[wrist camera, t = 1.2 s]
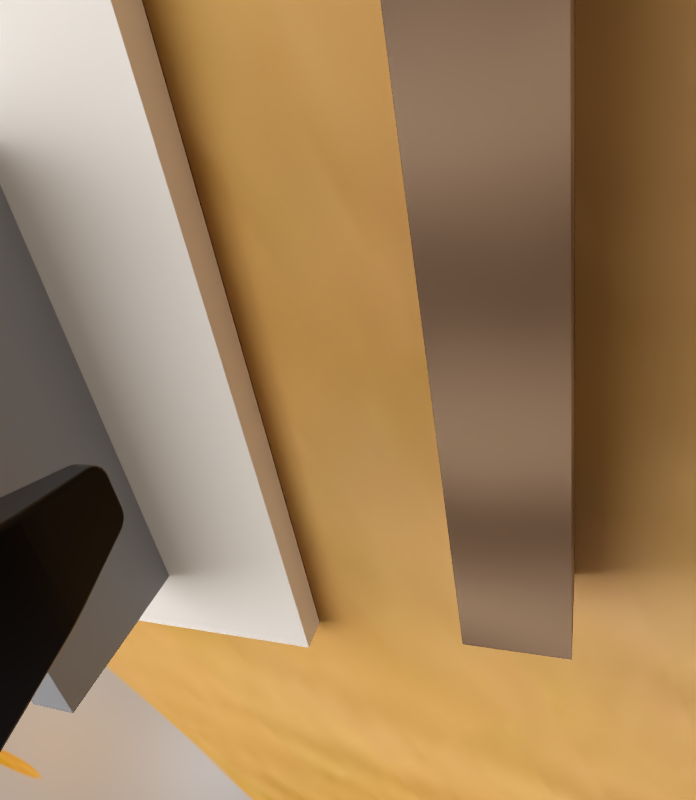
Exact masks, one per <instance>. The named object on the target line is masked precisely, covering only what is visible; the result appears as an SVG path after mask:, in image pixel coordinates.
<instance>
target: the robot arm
mask: <svg viewBox="0 0 696 800" xmlns="http://www.w3.org/2000/svg"><path fill="white" fill-rule="evenodd" d="M123 523H124V511H123V508H122V506H121V503H120V501H119V499H118V497H117V494H116V492H115V490H114V488H113V486H112V483H111V481H110V479H109V477H108V474H107V473H106V471H105V470H104V469H103V468H102V467H100V466H98V465H88V464H73V465H70V466H67V467H65V468H63V469H61V470H58V471H56V472H54V473H52V474H50V475H48V476H46V477H43V478H41V479H39V480H37V481H35V482H33V483H30V484H28V485H26V486H24V487H22V488H20V489H17V490H15V491H13V492H11V493H9V494H7V495H5V496H2V497H0V752H1V750H2V748H3V747H4V745H5V743H6V742H7V740H8V738H9V737H10V735H11V733H12V731H13V730H14V728H15V726H16V725H17V723H18V721H19V719H20V718H21V716H22V715H23V713H24V711H25V710H26V708H27V706H28V705H29V703H30V701H31V699H32V698H33V696H34V694H35V693H36V691H37V689H38V688H39V686H40V684H41V683H42V681H43V679H44V678H45V676H46V674H47V673H48V671H49V669H50V667H51V666H52V664H53V662H54V661H55V659H56V657H57V656H58V654H59V652H60V651H61V649H62V647H63V646H64V644H65V642H66V640H67V639H68V637H69V635H70V633H71V632H72V630H73V628H74V626H75V625H76V623H77V621H78V619H79V617H80V615H81V613H82V611H83V609H84V607H85V605H86V603H87V601H88V599H89V596H90V594H91V592H92V590H93V588H94V586H95V584H96V582H97V580H98V578H99V576H100V573H101V571H102V569H103V567H104V565H105V563H106V561H107V559H108V557H109V555H110V553H111V550H112V548H113V546H114V544H115V542H116V540H117V538H118V536H119V534H120V532H121V529H122V527H123Z"/></svg>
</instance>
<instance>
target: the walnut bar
mask: <svg viewBox="0 0 696 800" xmlns="http://www.w3.org/2000/svg"><path fill="white" fill-rule="evenodd" d="M381 8H382V16H383V24H384V32H385V40H386V47H387V55H388V63H389V71H390V79H391V87H392V94H393V102H394V110H395V118H396V126H397V134H398V141H399V149H400V157H401V165H402V173H403V180H404V188H405V196H406V204H407V212H408V220H409V227H410V235H411V243H412V251H413V259H414V267H415V274H416V282H417V290H418V298H419V306H420V314H421V321H422V329H423V337H424V345H425V353H426V360H427V368H428V376H429V384H430V392H431V400H432V407H433V415H434V423H435V431H436V439H437V447H438V454H439V462H440V470H441V478H442V486H443V494H444V501H445V509H446V517H447V525H448V533H449V541H450V548H451V556H452V564H453V572H454V580H455V587H456V595H457V603H458V611H459V619H460V627H461V634H462V642H463V644H465V645H472V646H479V647H486V648H494V649H501V650H508V651H515V652H522V653H529V654H536V655H543V656H550V657H557V658H564V659H571V660H572V634H573V603H574V449H575V0H381Z"/></svg>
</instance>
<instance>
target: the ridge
mask: <svg viewBox="0 0 696 800" xmlns="http://www.w3.org/2000/svg"><path fill="white" fill-rule="evenodd" d="M73 464H88V465H98V466H100V467H102V468H103V469H104V470H105V471H106V473H107V474H108V477H109V479H110V481H111V483H112V486H113V488H114V490H115V492H116V494H117V497H118V499H119V501H120V503H121V506H122V508H123V511H124V523H123V527H122V529H121V532H120V534H119V536H118V538H117V540H116V542H115V544H114V546H113V548H112V550H111V553H110V555H109V557H108V559H107V561H106V563H105V565H104V567H103V569H102V571H101V573H100V576H99V578H98V580H97V582H96V584H95V586H94V588H93V590H92V592H91V594H90V596H89V599H88V601H87V603H86V605H85V607H84V609H83V611H82V613H81V615H80V617H79V619H78V621H77V623H76V625H75V626H74V628H73V630H72V632H71V633H70V635H69V637H68V639H67V640H66V642H65V644H64V646H63V647H62V649H61V651H60V652H59V654H58V656H57V657H56V659H55V661H54V662H53V664H52V666H51V667H50V669H49V671H48V673H47V674H46V676H45V678H44V679H43V681H42V683H41V684H40V686H39V688H38V689H37V691H36V693H35V694H34V696H33V698H32V699H31V701H32V702H33V703H34V704H36V705H40V706H44V707H49V708H53V709H57V710H62V711H66V712H71V713H73V712H74V711H75V710H76V708H77V707H78V705H79V704H80V703H81V701H82V700H83V698H84V697H85V695H86V694H87V693H88V691H89V690H90V688H91V687H92V685H93V684H94V682H95V681H96V680H97V678H98V677H99V675H100V674H101V673H102V671H103V670H104V668H105V667H106V666H107V664H108V663H109V661H110V660H111V658H112V657H113V656H114V654H115V653H116V651H117V650H118V649H119V647H120V646H121V644H122V643H123V641H124V640H125V639H126V637H127V636H128V634H129V633H130V631H131V630H132V629H133V627H134V626H135V624H136V623H137V622H138V620H139V621H146V622H152V623H158V624H164V625H171V626H177V627H183V628H190V629H196V630H202V631H208V632H215V633H221V634H227V635H234V636H240V637H246V638H252V639H259V640H265V641H271V642H278V643H284V644H290V645H297V646H303V647H309V646H310V644H311V641H312V639H313V636H314V634H315V632H316V629H317V627H318V625H319V619H318V615H317V612H316V608H315V605H314V601H313V598H312V594H311V591H310V587H309V584H308V580H307V577H306V573H305V570H304V566H303V563H302V559H301V556H300V552H299V549H298V545H297V542H296V538H295V535H294V531H293V528H292V524H291V521H290V517H289V514H288V510H287V507H286V503H285V500H284V496H283V493H282V489H281V486H280V482H279V479H278V475H277V472H276V468H275V465H274V461H273V458H272V454H271V451H270V447H269V444H268V440H267V437H266V433H265V430H264V426H263V423H262V419H261V416H260V412H259V409H258V405H257V402H256V398H255V395H254V391H253V388H252V384H251V381H250V377H249V374H248V370H247V367H246V363H245V360H244V356H243V353H242V349H241V346H240V342H239V339H238V335H237V332H236V328H235V325H234V321H233V318H232V314H231V311H230V307H229V304H228V300H227V297H226V293H225V290H224V286H223V283H222V279H221V276H220V272H219V269H218V265H217V262H216V258H215V255H214V251H213V248H212V244H211V241H210V237H209V234H208V230H207V227H206V223H205V220H204V216H203V213H202V209H201V206H200V202H199V199H198V195H197V192H196V188H195V185H194V181H193V178H192V174H191V171H190V167H189V164H188V160H187V157H186V153H185V150H184V146H183V143H182V139H181V136H180V132H179V129H178V125H177V122H176V118H175V115H174V111H173V108H172V104H171V101H170V97H169V94H168V90H167V87H166V83H165V80H164V76H163V73H162V69H161V66H160V62H159V59H158V55H157V52H156V48H155V45H154V41H153V38H152V34H151V31H150V27H149V24H148V20H147V17H146V13H145V10H144V6H143V3H142V0H0V497H2V496H5V495H7V494H9V493H11V492H13V491H15V490H17V489H20V488H22V487H24V486H26V485H28V484H30V483H33V482H35V481H37V480H39V479H41V478H43V477H46V476H48V475H50V474H52V473H54V472H56V471H58V470H61V469H63V468H65V467H67V466H70V465H73Z"/></svg>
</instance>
